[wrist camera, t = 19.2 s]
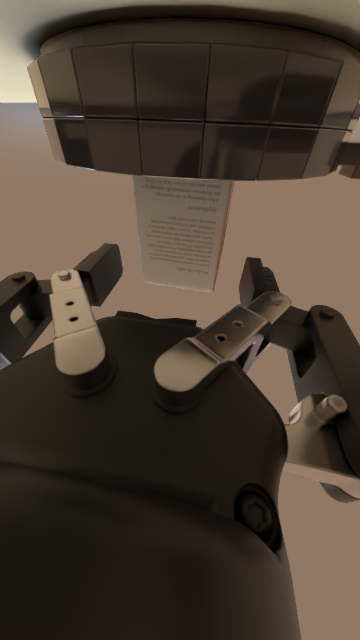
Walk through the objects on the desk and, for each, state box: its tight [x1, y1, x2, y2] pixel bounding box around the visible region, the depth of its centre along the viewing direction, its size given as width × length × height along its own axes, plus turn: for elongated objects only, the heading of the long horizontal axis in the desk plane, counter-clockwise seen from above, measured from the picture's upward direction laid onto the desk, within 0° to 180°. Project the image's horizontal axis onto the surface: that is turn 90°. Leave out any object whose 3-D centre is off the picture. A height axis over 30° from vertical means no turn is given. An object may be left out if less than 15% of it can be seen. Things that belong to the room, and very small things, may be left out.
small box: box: [133, 175, 234, 292], centre depth 15 cm, size 8×6×10 cm
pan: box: [27, 18, 360, 181], centre depth 12 cm, size 16×16×4 cm
